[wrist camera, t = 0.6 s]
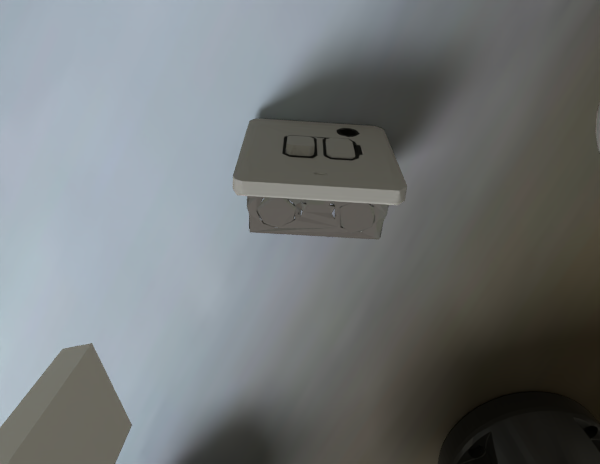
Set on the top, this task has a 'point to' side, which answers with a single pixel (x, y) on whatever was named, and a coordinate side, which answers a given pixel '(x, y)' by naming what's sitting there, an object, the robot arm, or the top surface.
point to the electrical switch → (317, 178)
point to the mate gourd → (598, 127)
